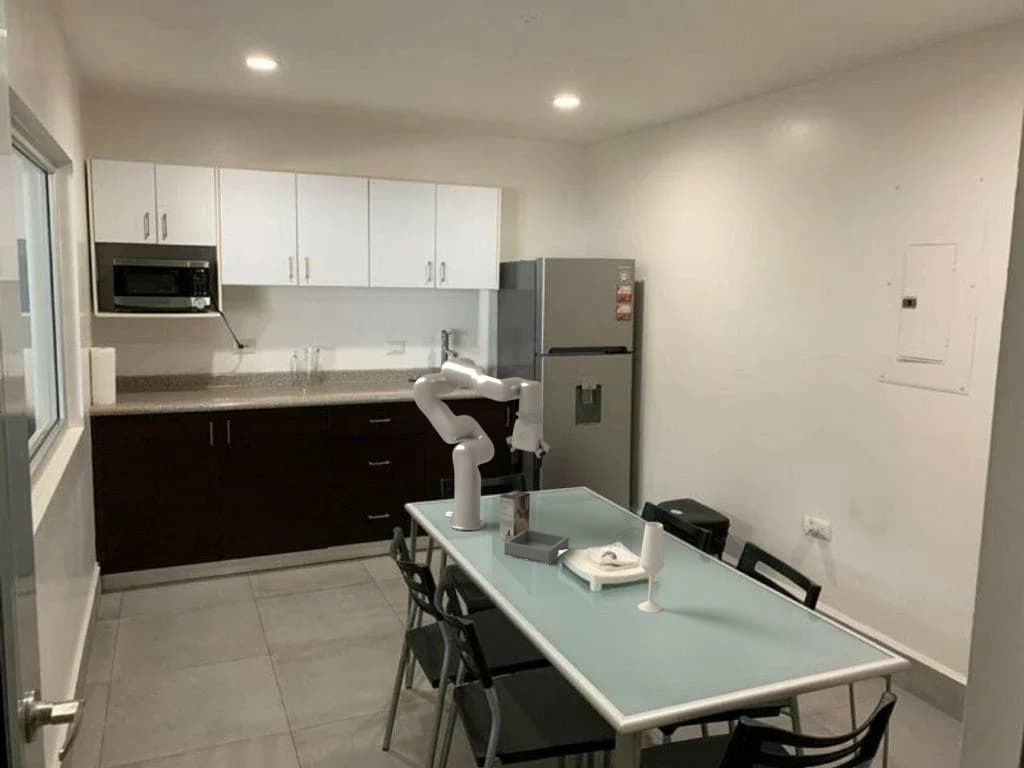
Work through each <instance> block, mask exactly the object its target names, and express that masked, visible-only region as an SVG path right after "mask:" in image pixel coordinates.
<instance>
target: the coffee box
mask: <svg viewBox="0 0 1024 768" xmlns="http://www.w3.org/2000/svg"><path fill="white" fill-rule="evenodd" d="M530 494H531V493H530V492H526V491H521V490H517V489H516V490H515V489H514V490H512V491H510V492H506V493H504V494H501V495H500V507H499V508H500V509H499V510H500V512H499V514H500V517H499V524H500V525H499V540H500V539H503V540H502V541H504V540H507V541H508V540H509V539H511V538H512V537H514V536H516V535H517V534H519V533H521V532H522V531H524V530H525V529H529V530H530V505H531V504H530V502H531V501H530V500H531V499H530V498H531V495H530Z"/></svg>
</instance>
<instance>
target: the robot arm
mask: <svg viewBox="0 0 1024 768" xmlns="http://www.w3.org/2000/svg"><path fill="white" fill-rule="evenodd" d="M461 387H465V388H468V389H469V388H470V389H472V390H473V391H474V390H475V392H476V393H478V394H479V395H480V396H482V397H485V398H486V399H490V400H493V401H497V402H507V401H511V400H518V399H519V401H518V403H519V404H518V411H516V413H515V415H516V416H518V418H517V419H516V420H515V423H514V426H513V432H512V435H511V436H508V437H506V439H505V440H506V443H507V446H508V448H509V449H510V452H511V456H510V457H511V459H510V460H511V464H512V465H514V464H517V463H518V462H519V452H520V451H518V450H521V451H526V452H530V453H531V452H532V453H534V454H535V455H536V457H535V463H534V469H535V470H539V469H541V468H542V466H543V457H545V456H546V455H547V454H548V452H549V450H550V448H551V446H550V445H549V444H548V443H547V442H545V441H544V431H543V422H542V421H541V412H542V400H543V399H542V398H543V384H542V383H541V382H540V381H537V380H528V379H525V378H522V377H519V376H515V377H509V378H508V377H507V378H502V379H501V378H496V377H493V376H490V375H488V373H487V369H486V368H485V367H484V366H481V365H477V364H476V363H475V361H474V360H472V359H471V358H470V357H458V358H455V357H454V358H451V359H450V358H449V359H447V360H445V361H444V362H443V364H442V365H441V369H440V372H435V373H429V374H428V373H427V374H424V375H422V376H421V377H419V378H417V379H416V381H415V383H414V385H413V389H412V390H413V391H412V392H413V399H414V401H415V404H416V405H417V407H418V408H419V410H420V411H421V412H422V414H424V415H425V417H426V418H427V419H428V420H429V422H430V423H431V425H432V427H433V428H434V429H435V430H436V431H437V433H438V435H439V436H440V437H441V438H442V440H443V441H444V442H445V443H446V444H451V445H452V444H457V443H458V444H457V445H455V447H454V448H453V451H452V464H453V469H454V471H453V472H454V502H453V503H454V505H453V507H454V508H453V509H454V510H453V511H452V510H451V511H450V510H447V511H446V513H445V518H446V519H447V518H448V519H451V520H450V522H449V526H450V528H451V529H453V528H454V530H456V529H457V530H456V531H462V530H473V531H478V530H481V529H483V528H484V527H485V522H484V520H482V519H481V500H482V498H481V495H482V494H481V492H482V491H481V489H482V476H481V472H480V470H479V467H478V466H479V465H481V464H485V463H488V462H489V461H491V460H492V459H493V458H494V455H495V448H494V447H495V446H494V444H493V442H492V439H490V437H489V436H488V434H487V433H486V432H485V431H484V429H483V428H482V426H481V425H480V424H479V423H478V422H477V420H476V419H475V418H473V417H472V416H469V415H465V414H462V415H457V416H456V415H455V414H454V412H452V411H451V409H450V407H449V406H448V405H447V404H446V403H445V402H443V401H442V400H441V399H439V398H438V397H440V396H441V397H442V396H445V395H446V396H447V395H450V394H452V393H454V392H455V391H457V390H458V389H460V388H461ZM542 449H543V450H542ZM477 529H478V530H477Z"/></svg>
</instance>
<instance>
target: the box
mask: <svg viewBox="0 0 1024 768" xmlns="http://www.w3.org/2000/svg"><path fill="white" fill-rule="evenodd" d="M569 539H570V538H569V536H565V535H559V534H553V533H549V532H544V531H537V530H534V529H530V528H529V529H525V530H524V531H522V532H521V533H519V534H517V535H516V536H514V537H512V538H511V539H509V540H508V541H505V542H504V549H503V550H504V552H503V554H505V555H510V556H513V557H512V558H514V557H517V558H516V559H518V558H522V559H521V560H523V559H528V560H533V561H537V562H536V563H538V562H542V563H546V564H545V565H547V564H549V563H550V562H552V561H553V560H554V559H555V558H557V555H558V551H559V550H564V549H568V550H569V544H570V543H569ZM557 559H558V558H557ZM528 560H527V561H528ZM533 561H532V562H533ZM554 561H555V560H554ZM554 561H553V562H554ZM553 562H552V563H553ZM542 563H541V564H542ZM550 564H551V563H550ZM550 564H549V565H550Z"/></svg>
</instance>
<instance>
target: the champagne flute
mask: <svg viewBox="0 0 1024 768" xmlns="http://www.w3.org/2000/svg"><path fill="white" fill-rule="evenodd" d="M644 525H645V526H644V531H643V532H644V533H643V539H642V546H641V547H642V548H641V554H640V559H639V560H640V561H639V562H640V563H639V564H640V565H641V568H642V569H643V570H644V571H645V572H646V574H648V576H649V578H648V592H647V593H648V595H647V596H648V597H647V600H646V601H643V602H642V603H639V604H638V605H637V608H638V609H639V610H641V611H643V612H644V613H659V612H661V611H662V610H663V608H662V606H661V605H660V604H658V603H656V602H655V601H653V599H654V598H653V594H654V593H653V592H654V578H655V577H654V576H655V575H656V574H658V573H659V572H660V571H662V569H664V566H665V563H666V562H665V544H664V542H665V541H664V539H665V538H664V525H663V524H662V523H661V522H657V521H656V522H655V521H649V522H648V521H647V522H646V523H645V524H644Z"/></svg>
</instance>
